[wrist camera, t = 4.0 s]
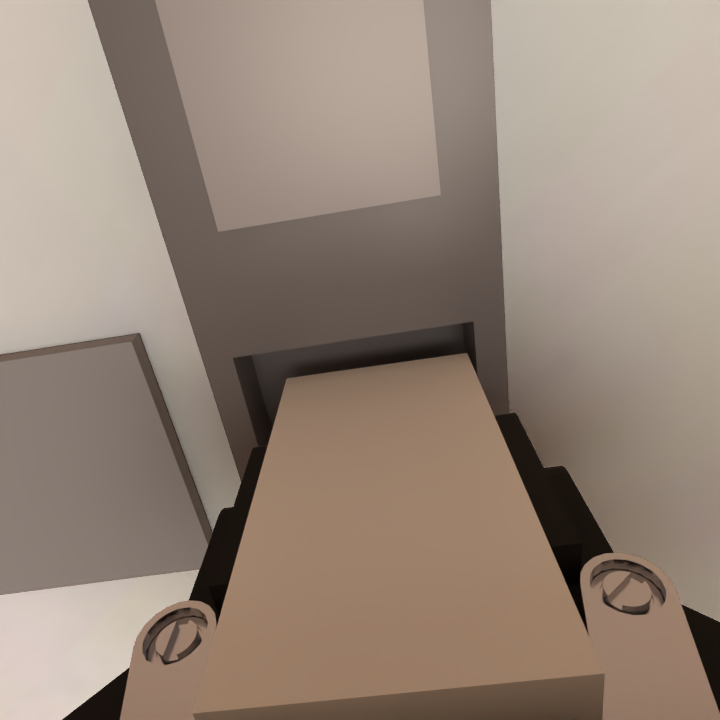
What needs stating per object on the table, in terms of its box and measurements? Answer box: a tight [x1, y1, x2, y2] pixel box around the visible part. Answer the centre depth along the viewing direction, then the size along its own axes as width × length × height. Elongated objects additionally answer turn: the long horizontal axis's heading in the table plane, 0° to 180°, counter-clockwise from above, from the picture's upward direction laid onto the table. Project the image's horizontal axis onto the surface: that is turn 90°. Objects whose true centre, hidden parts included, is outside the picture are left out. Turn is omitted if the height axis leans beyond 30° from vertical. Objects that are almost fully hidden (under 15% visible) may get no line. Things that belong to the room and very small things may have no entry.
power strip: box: [88, 0, 509, 482], centre depth 16 cm, size 32×7×4 cm, turn 9°
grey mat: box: [0, 334, 212, 595], centre depth 18 cm, size 9×9×1 cm
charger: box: [192, 353, 605, 720], centre depth 10 cm, size 4×4×8 cm
